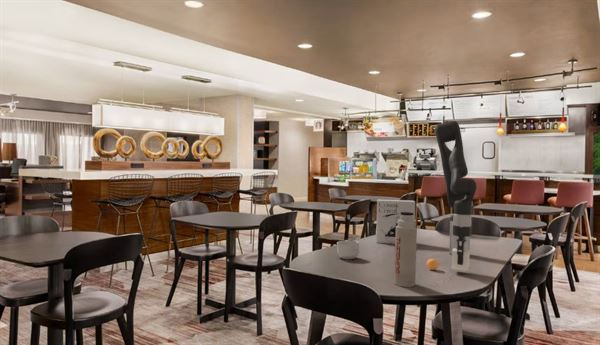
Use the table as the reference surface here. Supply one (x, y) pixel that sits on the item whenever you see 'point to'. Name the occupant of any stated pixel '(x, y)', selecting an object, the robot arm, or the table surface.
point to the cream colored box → (465, 260)
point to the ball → (432, 264)
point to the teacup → (348, 249)
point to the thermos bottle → (405, 251)
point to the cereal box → (390, 218)
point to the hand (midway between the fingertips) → (460, 262)
